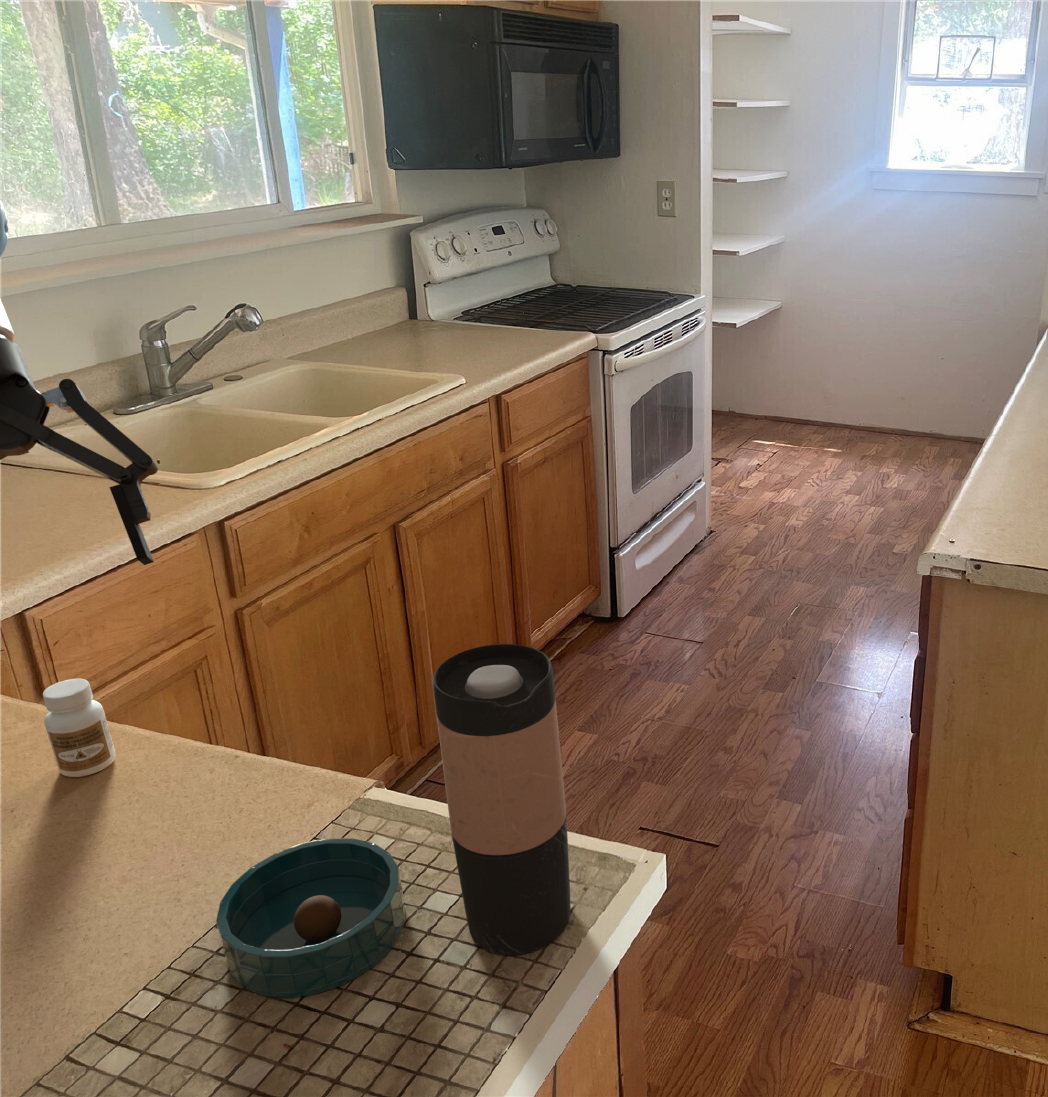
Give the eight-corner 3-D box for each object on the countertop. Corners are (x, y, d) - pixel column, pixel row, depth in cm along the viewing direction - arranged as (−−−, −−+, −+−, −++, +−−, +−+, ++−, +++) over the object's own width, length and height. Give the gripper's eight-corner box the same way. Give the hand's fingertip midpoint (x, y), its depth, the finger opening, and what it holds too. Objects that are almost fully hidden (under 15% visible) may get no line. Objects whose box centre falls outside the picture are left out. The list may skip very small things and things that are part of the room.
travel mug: (492, 875, 77) (463, 637, 69) (589, 889, 75) (571, 648, 68) (445, 950, 70) (407, 695, 62) (551, 966, 68) (526, 708, 61)
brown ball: (304, 958, 69) (296, 923, 68) (293, 931, 71) (285, 897, 70) (349, 939, 70) (343, 904, 69) (337, 913, 73) (330, 879, 71)
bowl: (248, 1027, 64) (237, 984, 63) (212, 918, 73) (201, 879, 71) (428, 946, 70) (422, 906, 69) (375, 855, 79) (369, 818, 78)
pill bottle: (59, 784, 88) (35, 706, 85) (59, 760, 91) (35, 684, 88) (118, 768, 90) (96, 692, 87) (115, 745, 93) (94, 670, 90)
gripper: (138, 328, 92) (223, 545, 91) (-193, 410, 83) (-102, 652, 82) (118, 294, 85) (210, 529, 84) (-245, 379, 76) (-147, 643, 75)
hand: (56, 590), depth 83 cm, fingers open, 13 cm apart
